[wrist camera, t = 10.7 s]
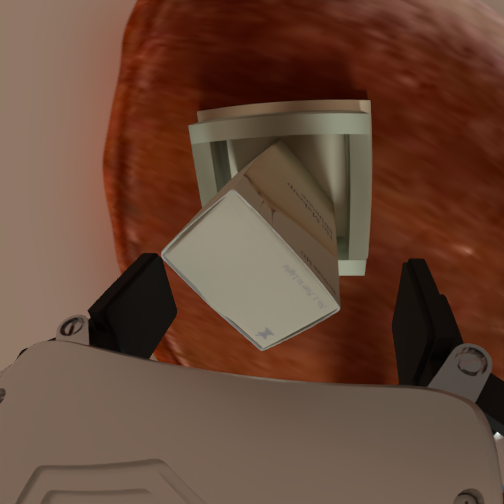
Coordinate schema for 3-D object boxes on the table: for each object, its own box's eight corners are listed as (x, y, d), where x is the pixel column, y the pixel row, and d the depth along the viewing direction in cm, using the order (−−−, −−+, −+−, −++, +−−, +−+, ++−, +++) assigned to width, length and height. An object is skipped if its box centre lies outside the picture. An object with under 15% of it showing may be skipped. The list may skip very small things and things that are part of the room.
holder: (368, 100, 18) (380, 102, 14) (366, 252, 24) (373, 283, 20) (200, 110, 21) (176, 116, 17) (223, 252, 26) (207, 281, 23)
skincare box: (335, 201, 21) (350, 312, 11) (288, 235, 23) (263, 356, 13) (277, 134, 20) (235, 183, 9) (231, 173, 22) (155, 257, 11)
